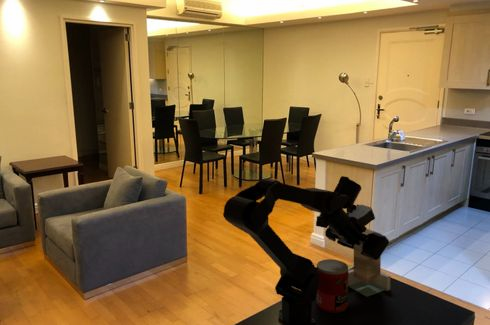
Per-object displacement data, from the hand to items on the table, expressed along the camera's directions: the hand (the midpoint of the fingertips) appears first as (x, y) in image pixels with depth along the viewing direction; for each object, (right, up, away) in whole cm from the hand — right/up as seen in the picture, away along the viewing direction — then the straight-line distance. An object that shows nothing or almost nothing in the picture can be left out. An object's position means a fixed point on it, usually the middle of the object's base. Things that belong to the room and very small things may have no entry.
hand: (370, 253), depth 110 cm
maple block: (-1, -7, 0) cm, 7 cm away
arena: (-2, -10, +1) cm, 10 cm away
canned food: (-12, -12, -7) cm, 18 cm away
